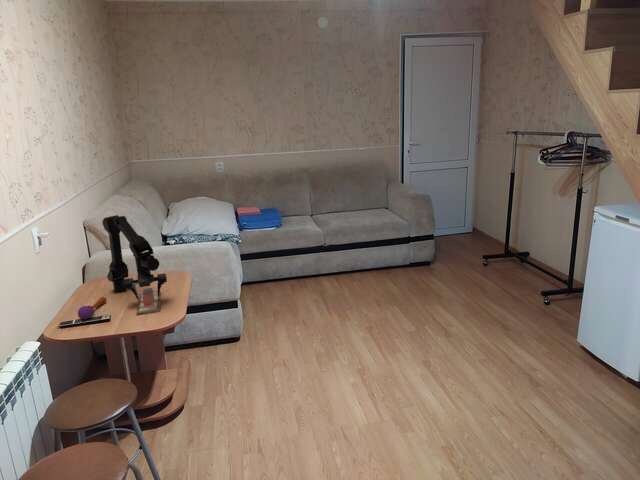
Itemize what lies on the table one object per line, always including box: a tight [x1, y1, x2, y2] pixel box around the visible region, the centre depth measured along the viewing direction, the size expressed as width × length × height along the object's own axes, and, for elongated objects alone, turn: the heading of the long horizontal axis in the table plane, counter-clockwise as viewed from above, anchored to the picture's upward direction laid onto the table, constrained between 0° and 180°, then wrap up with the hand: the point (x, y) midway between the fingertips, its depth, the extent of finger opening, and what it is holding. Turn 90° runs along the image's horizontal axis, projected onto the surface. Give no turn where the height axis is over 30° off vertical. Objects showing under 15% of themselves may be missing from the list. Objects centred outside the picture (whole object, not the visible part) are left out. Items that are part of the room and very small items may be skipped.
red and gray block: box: [142, 287, 154, 306], centre depth 220 cm, size 11×4×4 cm, turn 17°
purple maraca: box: [77, 296, 107, 320], centre depth 214 cm, size 6×6×20 cm
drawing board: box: [136, 290, 162, 316], centre depth 220 cm, size 24×10×1 cm, turn 17°
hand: (148, 297), depth 220 cm, fingers open, 9 cm apart
